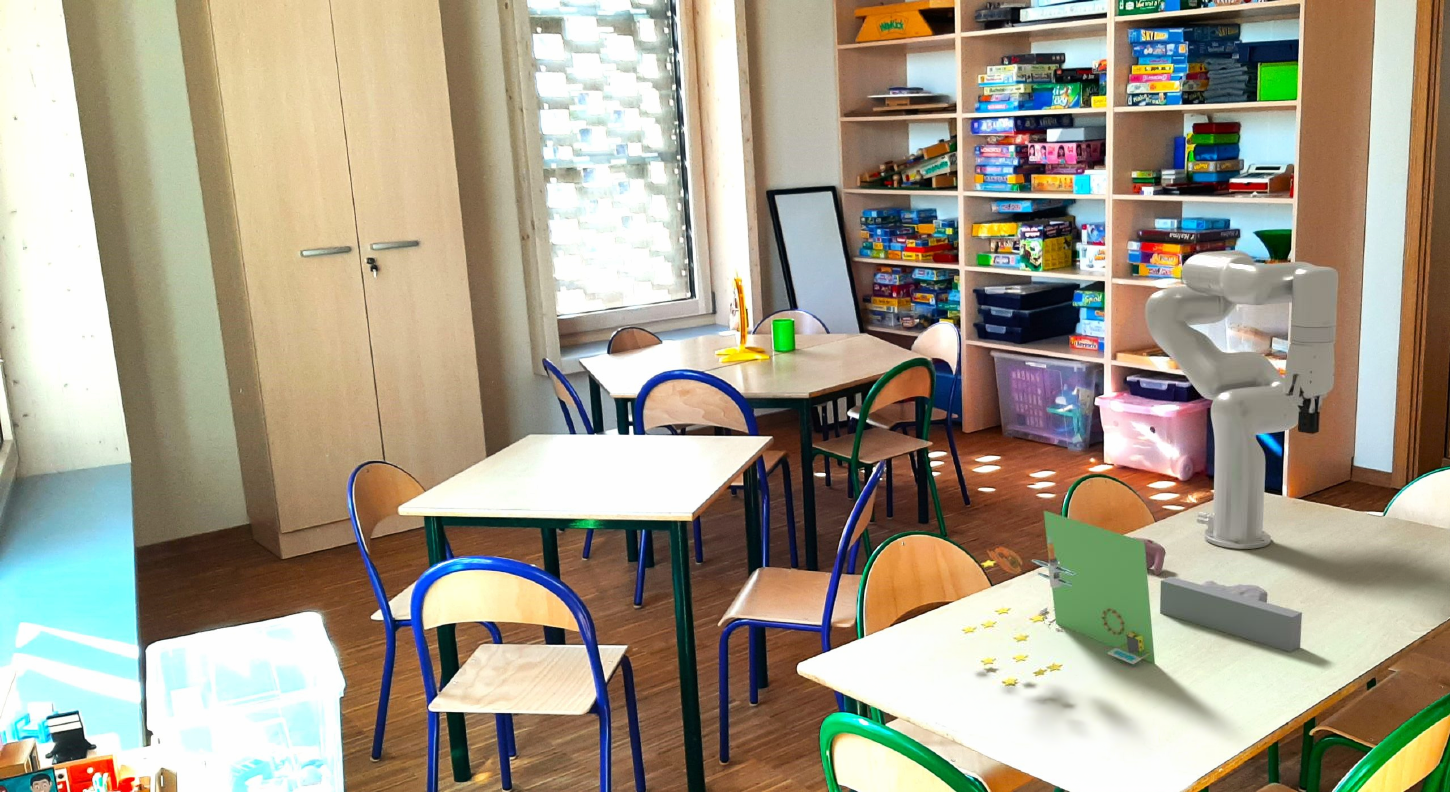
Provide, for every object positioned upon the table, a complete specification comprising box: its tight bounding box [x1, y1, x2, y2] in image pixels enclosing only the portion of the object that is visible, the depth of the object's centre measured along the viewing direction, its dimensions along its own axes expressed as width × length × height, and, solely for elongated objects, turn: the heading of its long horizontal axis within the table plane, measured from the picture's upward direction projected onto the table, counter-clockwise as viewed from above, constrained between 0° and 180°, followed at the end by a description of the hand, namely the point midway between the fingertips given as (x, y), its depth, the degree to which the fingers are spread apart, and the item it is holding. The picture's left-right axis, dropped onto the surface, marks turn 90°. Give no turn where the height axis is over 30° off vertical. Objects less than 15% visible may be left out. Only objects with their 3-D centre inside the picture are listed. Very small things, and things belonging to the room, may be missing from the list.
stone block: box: [1200, 580, 1268, 603], centre depth 222 cm, size 12×5×10 cm
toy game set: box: [961, 510, 1156, 686], centre depth 203 cm, size 22×25×24 cm
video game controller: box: [1132, 536, 1167, 576], centre depth 245 cm, size 10×5×7 cm, turn 58°
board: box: [1159, 576, 1303, 653], centre depth 213 cm, size 24×3×6 cm, turn 38°
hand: (1308, 431), depth 234 cm, fingers closed
